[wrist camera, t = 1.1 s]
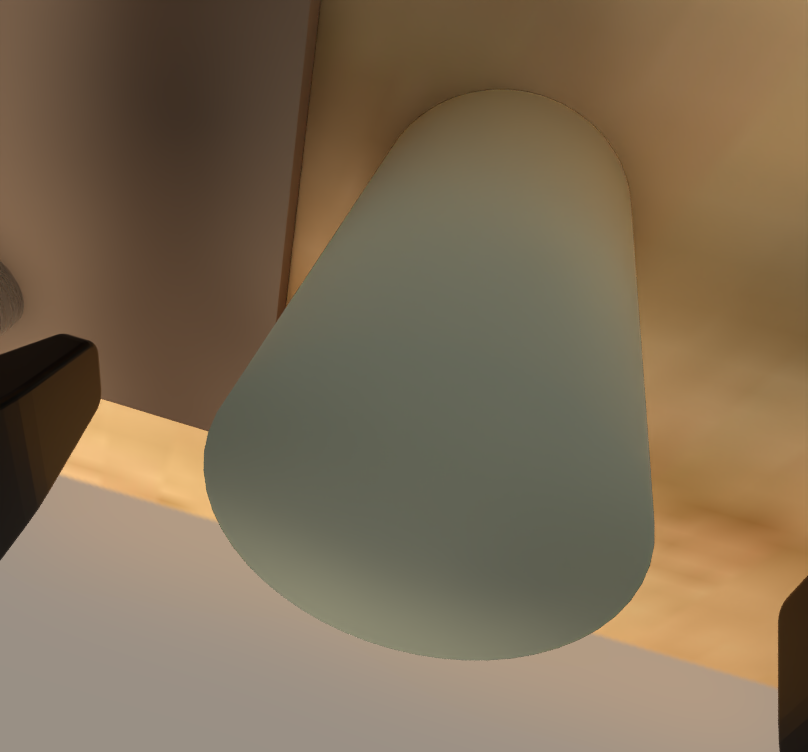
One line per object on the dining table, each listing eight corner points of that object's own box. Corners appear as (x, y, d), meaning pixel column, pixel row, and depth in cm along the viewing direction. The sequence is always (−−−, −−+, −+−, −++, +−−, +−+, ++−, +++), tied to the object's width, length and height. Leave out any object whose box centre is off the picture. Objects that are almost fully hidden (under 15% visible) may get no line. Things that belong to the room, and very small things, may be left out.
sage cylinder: (690, 215, 13) (765, 551, 7) (506, 367, 16) (445, 702, 10) (487, 25, 12) (366, 231, 6) (328, 225, 15) (137, 504, 9)
